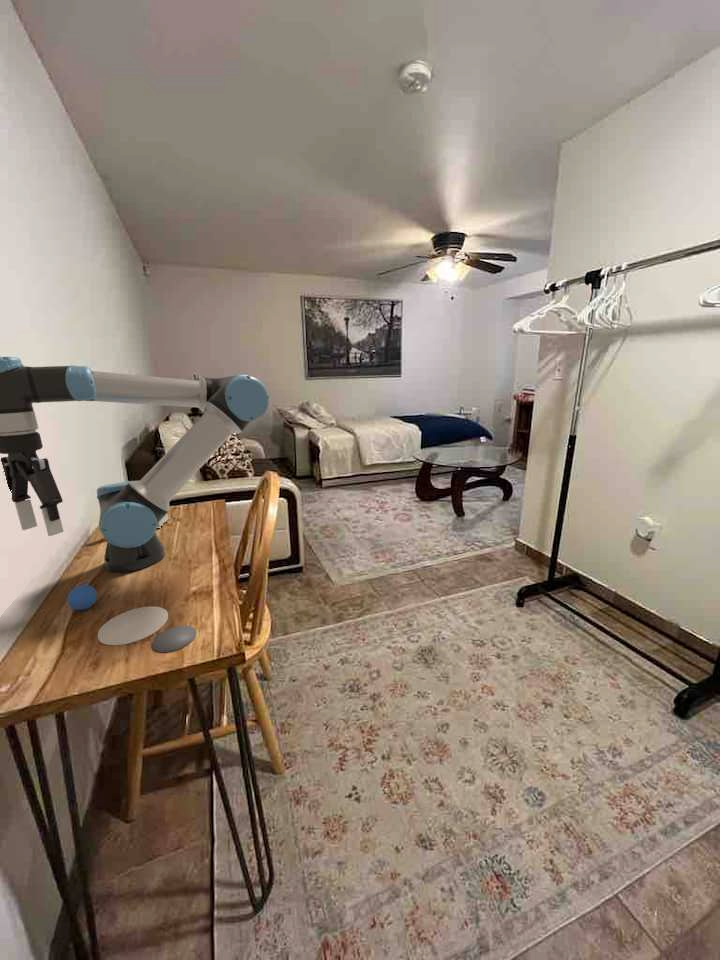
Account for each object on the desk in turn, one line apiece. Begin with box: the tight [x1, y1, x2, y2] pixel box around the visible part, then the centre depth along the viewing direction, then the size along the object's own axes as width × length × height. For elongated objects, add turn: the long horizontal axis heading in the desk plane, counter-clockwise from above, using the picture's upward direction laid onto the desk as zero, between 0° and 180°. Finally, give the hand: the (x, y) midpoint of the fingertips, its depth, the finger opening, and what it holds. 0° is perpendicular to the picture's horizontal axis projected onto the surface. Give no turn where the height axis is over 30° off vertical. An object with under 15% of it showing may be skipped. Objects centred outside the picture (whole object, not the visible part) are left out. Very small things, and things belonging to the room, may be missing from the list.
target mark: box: [97, 606, 169, 646], centre depth 82 cm, size 13×13×1 cm
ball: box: [67, 584, 98, 611], centre depth 89 cm, size 6×6×6 cm
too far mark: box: [151, 624, 197, 653], centre depth 77 cm, size 8×8×1 cm
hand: (42, 530), depth 89 cm, fingers open, 10 cm apart
